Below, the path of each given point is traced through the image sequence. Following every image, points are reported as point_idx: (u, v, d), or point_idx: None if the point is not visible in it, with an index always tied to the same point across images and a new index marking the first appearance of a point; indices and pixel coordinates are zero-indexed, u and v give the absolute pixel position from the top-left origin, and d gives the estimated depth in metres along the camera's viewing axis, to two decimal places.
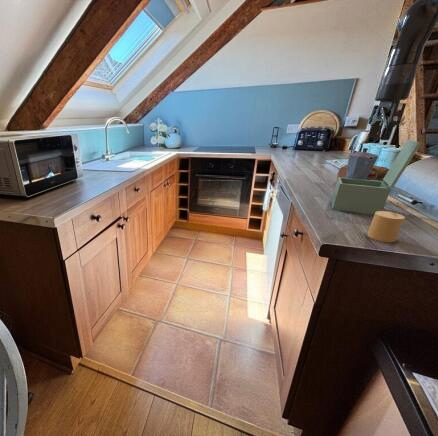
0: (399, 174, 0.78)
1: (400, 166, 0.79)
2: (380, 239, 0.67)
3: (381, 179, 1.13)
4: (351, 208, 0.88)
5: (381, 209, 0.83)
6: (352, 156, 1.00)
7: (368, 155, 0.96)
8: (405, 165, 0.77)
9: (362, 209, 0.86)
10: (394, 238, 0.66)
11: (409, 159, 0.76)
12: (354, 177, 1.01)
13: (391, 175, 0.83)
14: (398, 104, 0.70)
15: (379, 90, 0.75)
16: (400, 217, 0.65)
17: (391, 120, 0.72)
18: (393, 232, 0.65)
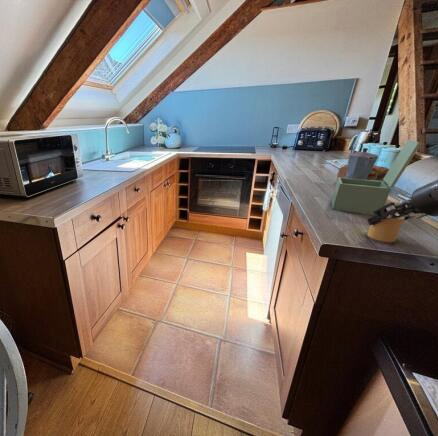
0: (399, 174, 0.78)
1: (400, 166, 0.79)
2: (380, 239, 0.67)
3: (381, 179, 1.13)
4: (351, 208, 0.88)
5: None
6: (352, 156, 1.00)
7: (368, 155, 0.96)
8: (405, 165, 0.77)
9: (362, 209, 0.86)
10: (394, 238, 0.66)
11: (409, 159, 0.76)
12: (354, 177, 1.01)
13: (391, 175, 0.83)
14: None
15: None
16: None
17: None
18: (393, 231, 0.66)
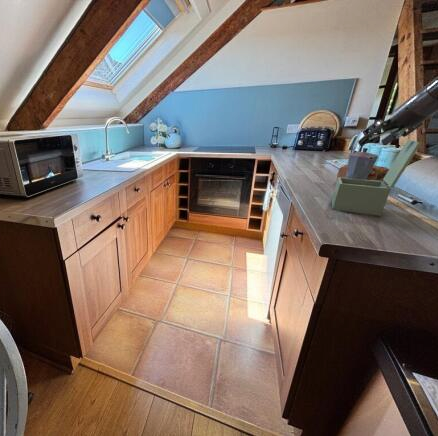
0: (399, 174, 0.78)
1: (400, 166, 0.79)
2: None
3: (381, 179, 1.14)
4: (351, 208, 0.88)
5: (381, 209, 0.83)
6: (352, 156, 1.00)
7: (368, 155, 0.96)
8: (405, 165, 0.77)
9: (362, 209, 0.86)
10: None
11: (409, 159, 0.76)
12: (354, 177, 1.01)
13: (391, 175, 0.83)
14: None
15: (422, 120, 0.69)
16: None
17: None
18: None
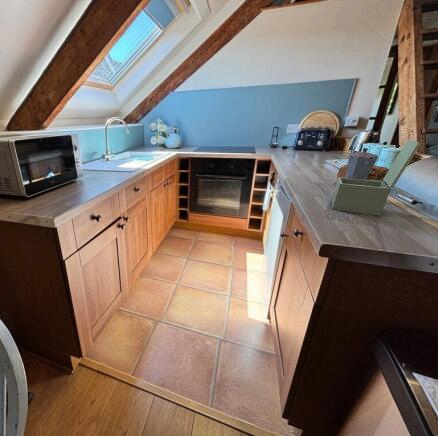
0: (399, 174, 0.78)
1: (400, 166, 0.79)
2: None
3: (381, 179, 1.14)
4: (351, 208, 0.88)
5: (381, 209, 0.83)
6: (352, 156, 1.00)
7: (368, 155, 0.96)
8: (405, 165, 0.77)
9: (362, 209, 0.86)
10: None
11: (409, 159, 0.76)
12: (354, 177, 1.01)
13: (391, 175, 0.83)
14: None
15: None
16: None
17: None
18: None
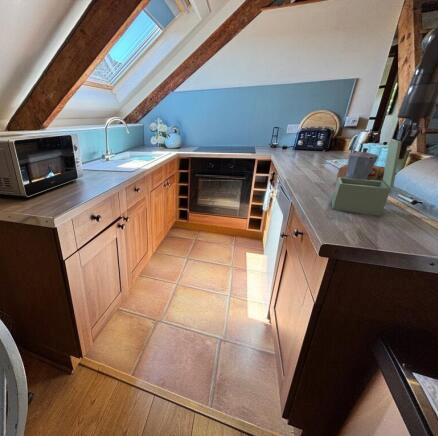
0: (393, 174, 0.79)
1: (391, 166, 0.80)
2: None
3: (381, 179, 1.14)
4: (351, 208, 0.88)
5: (381, 209, 0.83)
6: (352, 156, 1.00)
7: (368, 155, 0.96)
8: (395, 164, 0.78)
9: (362, 209, 0.86)
10: None
11: (397, 158, 0.77)
12: (354, 177, 1.01)
13: (387, 175, 0.83)
14: (411, 132, 0.73)
15: (400, 108, 0.77)
16: None
17: (402, 143, 0.77)
18: None
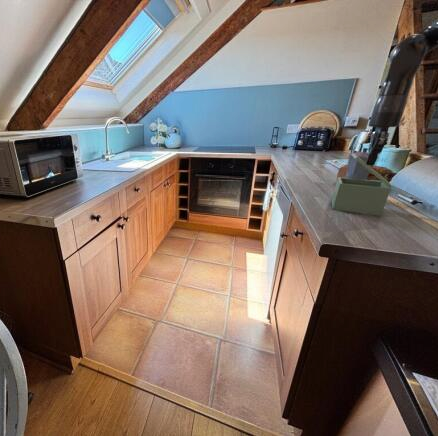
0: (380, 178, 0.81)
1: None
2: None
3: None
4: (351, 208, 0.88)
5: (381, 209, 0.83)
6: (352, 156, 1.00)
7: None
8: (372, 172, 0.81)
9: (362, 209, 0.86)
10: None
11: (368, 168, 0.82)
12: (354, 177, 1.01)
13: None
14: (380, 140, 0.78)
15: (371, 117, 0.81)
16: None
17: (373, 150, 0.81)
18: None
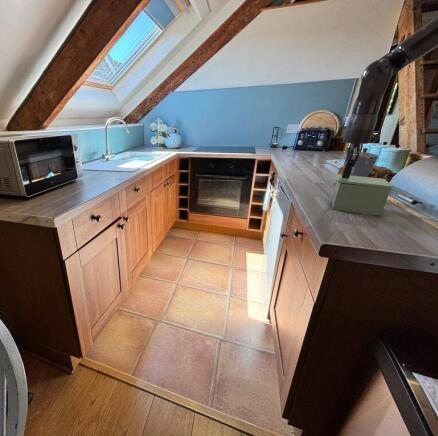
0: (374, 185, 0.82)
1: None
2: None
3: None
4: (351, 208, 0.88)
5: (381, 209, 0.83)
6: None
7: (368, 155, 0.96)
8: (362, 184, 0.84)
9: (362, 209, 0.86)
10: None
11: (355, 183, 0.85)
12: None
13: None
14: (352, 156, 0.83)
15: (345, 133, 0.86)
16: None
17: (346, 164, 0.86)
18: None
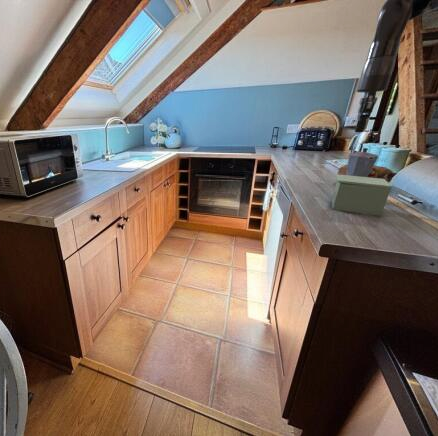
0: (374, 185, 0.82)
1: None
2: None
3: None
4: (351, 208, 0.88)
5: (381, 209, 0.83)
6: (352, 156, 1.00)
7: (368, 155, 0.96)
8: (362, 184, 0.84)
9: (362, 209, 0.86)
10: None
11: (355, 183, 0.85)
12: None
13: None
14: (367, 104, 0.76)
15: (359, 82, 0.80)
16: None
17: (361, 115, 0.80)
18: None
